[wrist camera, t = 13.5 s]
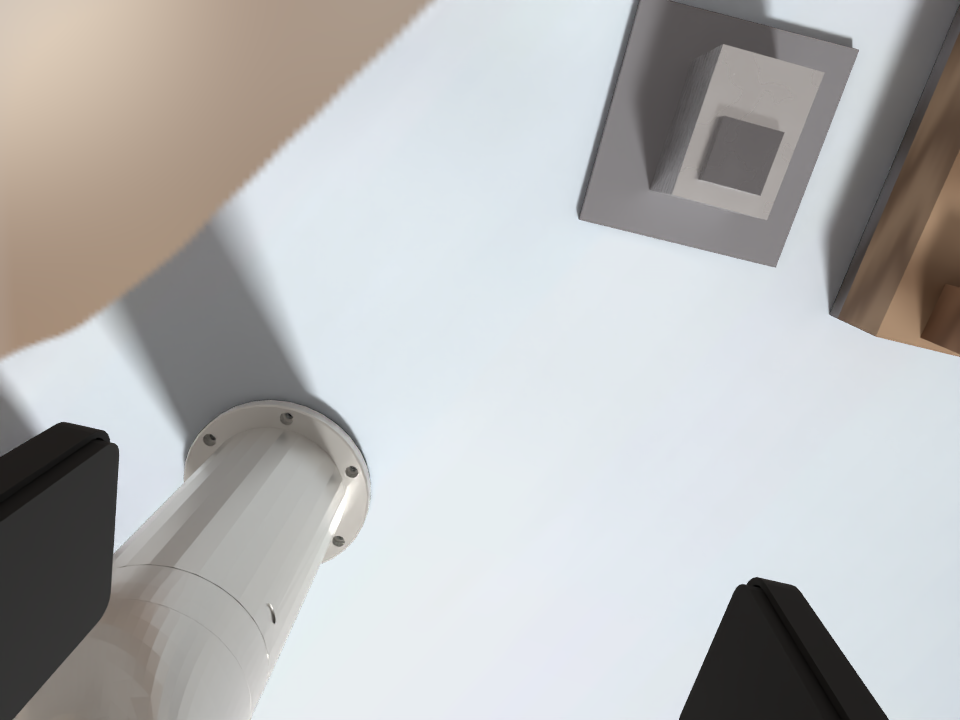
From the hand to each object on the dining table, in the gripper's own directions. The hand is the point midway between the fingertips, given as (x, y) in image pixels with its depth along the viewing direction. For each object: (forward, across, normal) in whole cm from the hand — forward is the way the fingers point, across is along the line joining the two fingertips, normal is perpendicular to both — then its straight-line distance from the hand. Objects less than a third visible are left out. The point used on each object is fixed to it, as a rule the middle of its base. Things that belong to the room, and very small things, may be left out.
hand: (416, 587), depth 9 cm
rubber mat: (+30, -11, -10) cm, 34 cm away
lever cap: (+30, -11, -10) cm, 33 cm away
